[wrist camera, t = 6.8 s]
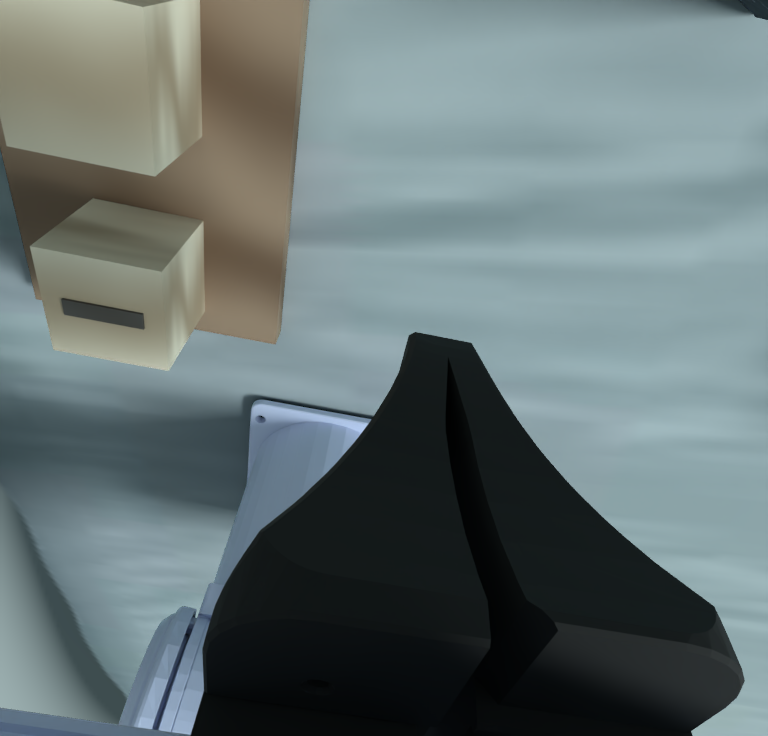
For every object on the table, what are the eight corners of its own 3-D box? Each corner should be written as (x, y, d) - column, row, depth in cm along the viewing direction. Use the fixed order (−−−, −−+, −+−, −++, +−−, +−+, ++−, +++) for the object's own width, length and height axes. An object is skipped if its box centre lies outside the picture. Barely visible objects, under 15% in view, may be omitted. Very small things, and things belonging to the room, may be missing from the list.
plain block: (202, 136, 18) (155, 176, 15) (80, 110, 18) (6, 146, 15) (200, -6, 16) (143, 6, 13) (59, -38, 16) (-35, -34, 12)
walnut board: (280, 331, 24) (275, 344, 23) (49, 287, 24) (36, 299, 23) (345, -411, 12) (339, -436, 11) (-131, -546, 11) (-173, -582, 11)
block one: (204, 311, 23) (167, 372, 19) (106, 292, 22) (51, 351, 19) (203, 220, 20) (160, 273, 17) (92, 198, 20) (27, 247, 17)
